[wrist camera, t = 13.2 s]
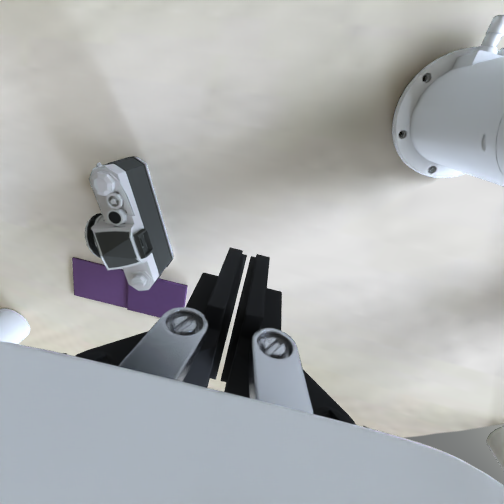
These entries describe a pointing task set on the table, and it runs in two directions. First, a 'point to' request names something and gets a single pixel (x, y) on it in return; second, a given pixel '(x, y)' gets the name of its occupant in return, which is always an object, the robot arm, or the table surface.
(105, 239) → the camera
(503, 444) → the travel mug
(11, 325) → the gray bottle
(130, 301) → the purple flat rectangular piece
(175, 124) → the table surface
